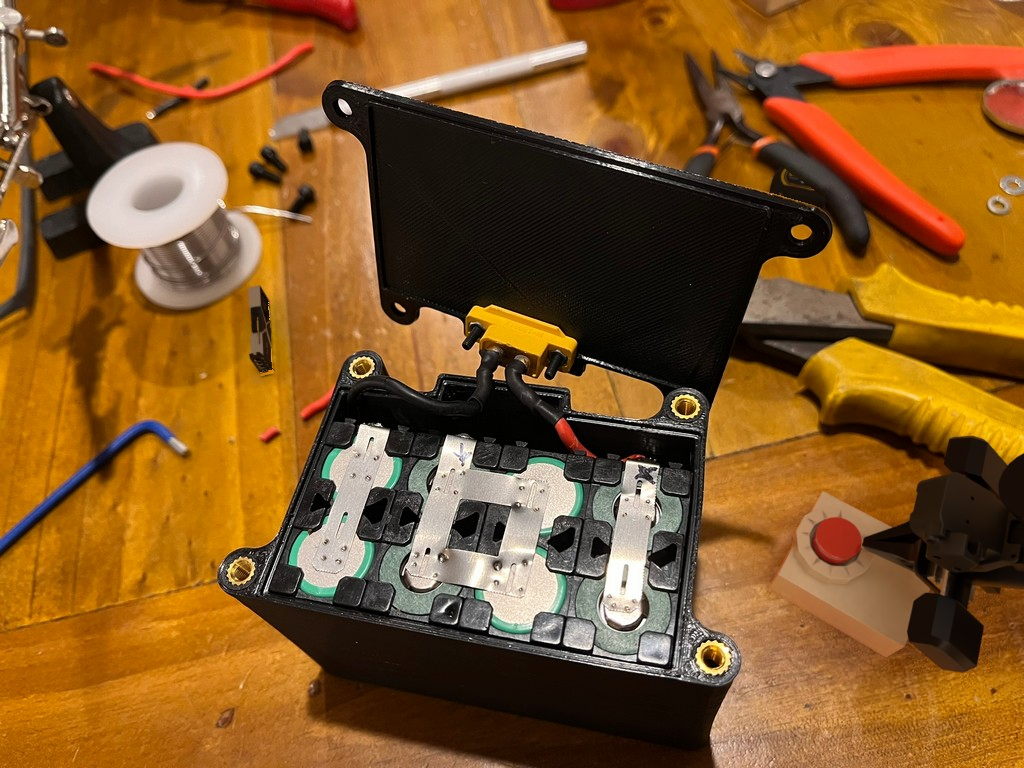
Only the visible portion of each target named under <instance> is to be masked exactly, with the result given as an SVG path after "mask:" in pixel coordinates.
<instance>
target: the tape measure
mask: <svg viewBox="0 0 1024 768" xmlns="http://www.w3.org/2000/svg"><path fill="white" fill-rule="evenodd" d="M770 193H774V194H777V195H781V196H784V197H787V198H791V199H794V200H798V201H801V202H805V203H808V204H812V205H815V206H817V207H820V208H821V209H823V208H825V209H823V210H824V211H825V210H826V204H825V203H826V201H827V198H826V199H825V197H823V196H822V195H820V194H819V193H817V192H816V191H815V190H814V189H812V188H811V187H810V186H808V185H807V184H805V183H804V182H803V181H801V180H799V179H798V178H797V177H796V176H794V175H792V174H791V173H790V172H789V171H787V170H786V169H785V168H783V167H782V166H781V167H779V168H778V169H777V170H776V171H775V173H774V174H773V177H772V179H771V182H770V187H769V194H770Z"/></svg>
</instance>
